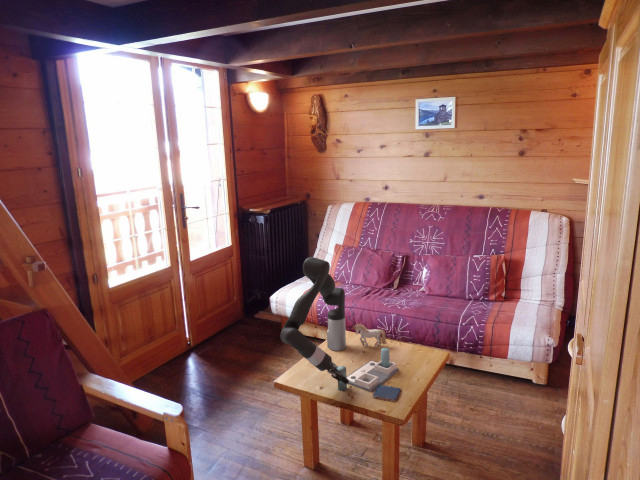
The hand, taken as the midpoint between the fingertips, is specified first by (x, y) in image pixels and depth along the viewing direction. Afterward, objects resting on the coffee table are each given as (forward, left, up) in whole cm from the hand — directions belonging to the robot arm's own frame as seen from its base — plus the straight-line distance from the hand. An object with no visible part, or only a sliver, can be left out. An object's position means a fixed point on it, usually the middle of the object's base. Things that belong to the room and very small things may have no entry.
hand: (346, 379), depth 203 cm
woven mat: (+17, +6, -5) cm, 19 cm away
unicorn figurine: (-14, +40, -4) cm, 42 cm away
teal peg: (-1, -1, -4) cm, 5 cm away
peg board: (+3, +16, -4) cm, 16 cm away
